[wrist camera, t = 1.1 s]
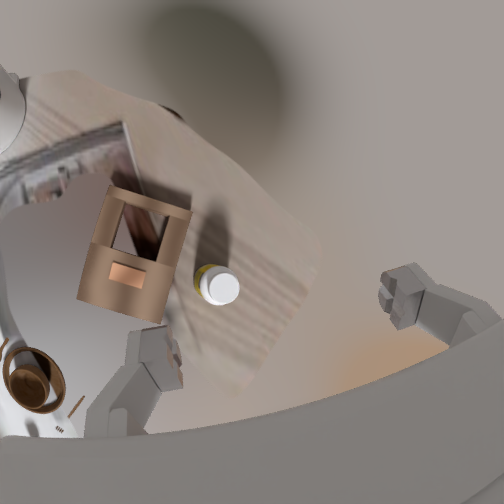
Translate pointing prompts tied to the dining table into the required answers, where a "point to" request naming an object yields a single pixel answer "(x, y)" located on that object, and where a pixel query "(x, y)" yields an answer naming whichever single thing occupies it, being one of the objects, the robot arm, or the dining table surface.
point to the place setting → (35, 382)
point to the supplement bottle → (216, 284)
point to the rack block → (132, 260)
